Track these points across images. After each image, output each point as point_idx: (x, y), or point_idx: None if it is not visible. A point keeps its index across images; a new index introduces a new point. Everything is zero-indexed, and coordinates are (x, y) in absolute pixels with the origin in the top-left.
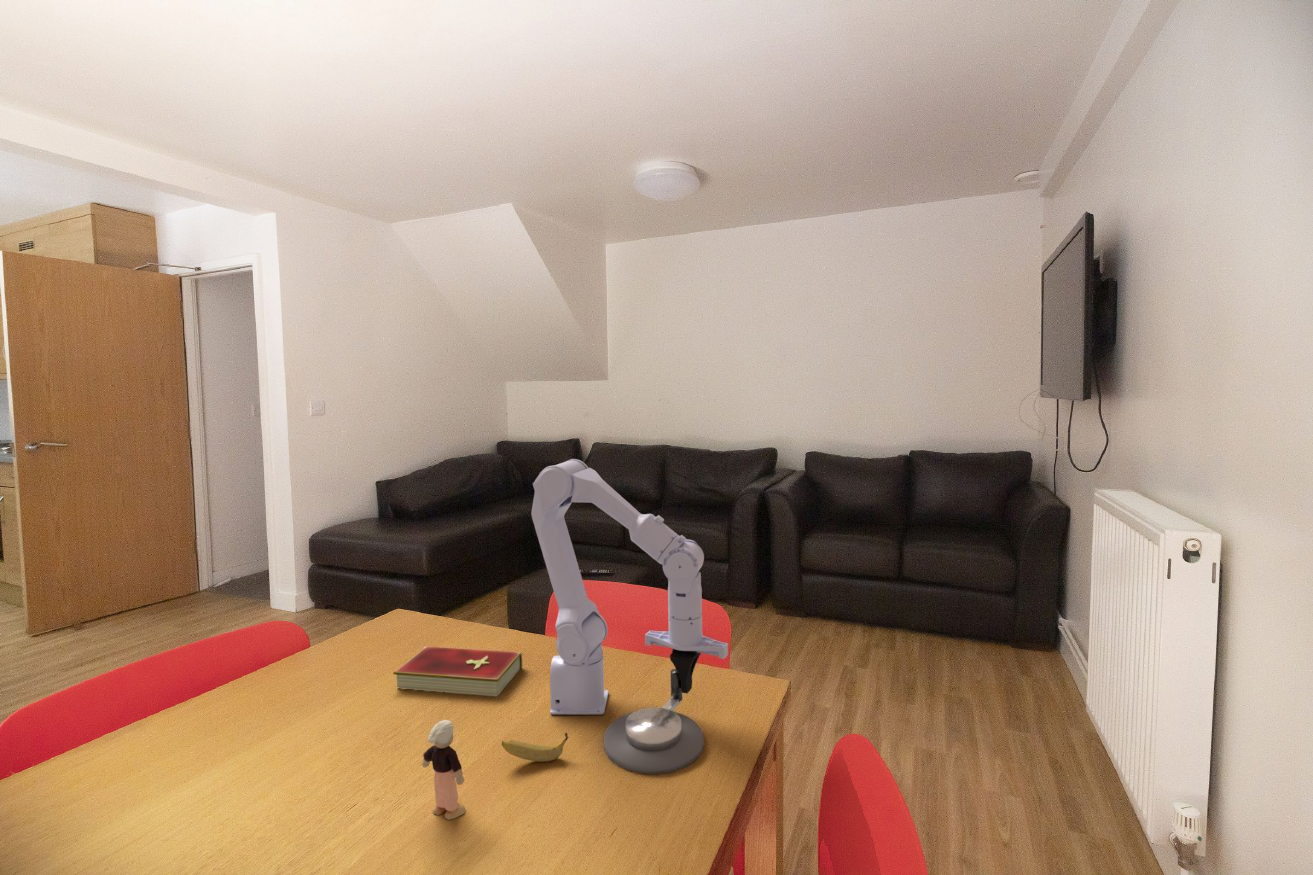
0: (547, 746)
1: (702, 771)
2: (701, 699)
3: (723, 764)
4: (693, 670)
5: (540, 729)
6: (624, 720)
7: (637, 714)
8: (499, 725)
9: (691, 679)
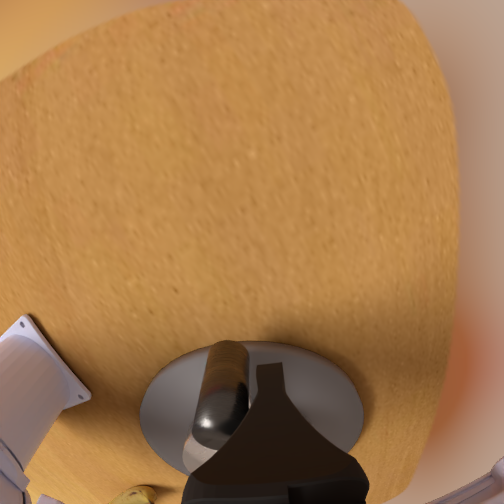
0: (138, 501)
1: (375, 434)
2: (249, 200)
3: (406, 404)
4: (294, 406)
5: (69, 444)
6: (156, 424)
7: (197, 459)
8: None
9: (283, 383)
